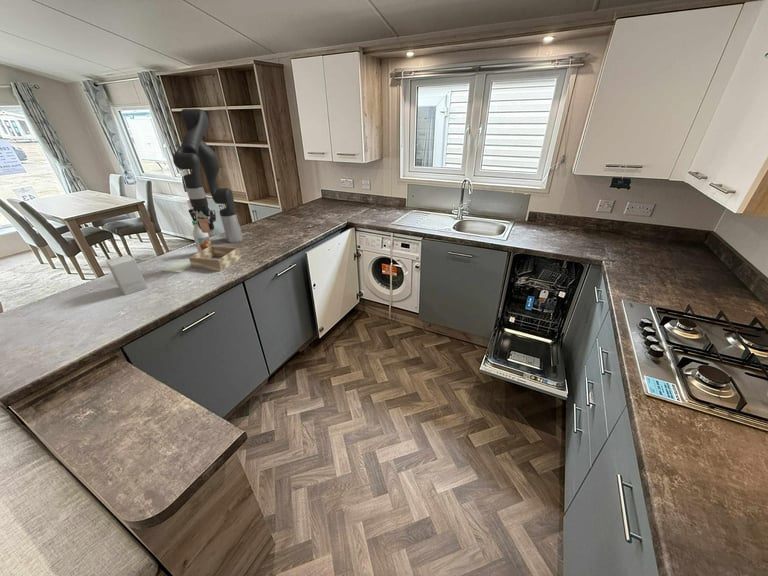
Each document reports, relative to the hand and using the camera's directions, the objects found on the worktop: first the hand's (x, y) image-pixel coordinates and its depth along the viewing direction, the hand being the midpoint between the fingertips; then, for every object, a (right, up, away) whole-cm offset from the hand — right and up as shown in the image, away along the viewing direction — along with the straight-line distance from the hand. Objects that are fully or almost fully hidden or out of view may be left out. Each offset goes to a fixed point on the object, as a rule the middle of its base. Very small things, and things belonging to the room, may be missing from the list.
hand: (207, 229), depth 156 cm
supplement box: (-25, -31, -16) cm, 43 cm away
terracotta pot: (0, -1, 0) cm, 1 cm away
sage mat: (-17, -20, +4) cm, 27 cm away
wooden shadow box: (0, -17, +10) cm, 19 cm away
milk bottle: (-13, -10, +21) cm, 27 cm away
